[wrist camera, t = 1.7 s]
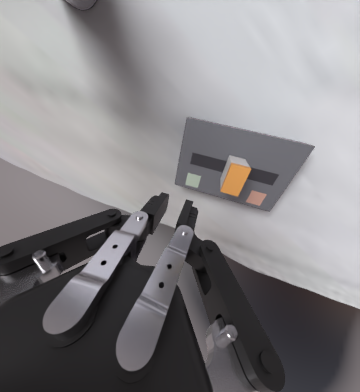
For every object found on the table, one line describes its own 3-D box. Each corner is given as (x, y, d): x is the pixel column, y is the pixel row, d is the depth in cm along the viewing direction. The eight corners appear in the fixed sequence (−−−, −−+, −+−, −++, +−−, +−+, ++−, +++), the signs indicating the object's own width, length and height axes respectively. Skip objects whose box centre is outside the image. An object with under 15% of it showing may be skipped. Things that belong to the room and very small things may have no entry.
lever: (220, 178, 28) (220, 191, 23) (229, 155, 26) (231, 164, 21) (234, 182, 28) (237, 196, 23) (245, 159, 25) (251, 169, 20)
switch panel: (178, 177, 36) (174, 184, 32) (190, 117, 28) (186, 117, 25) (264, 202, 33) (269, 211, 30) (302, 142, 26) (315, 146, 22)
